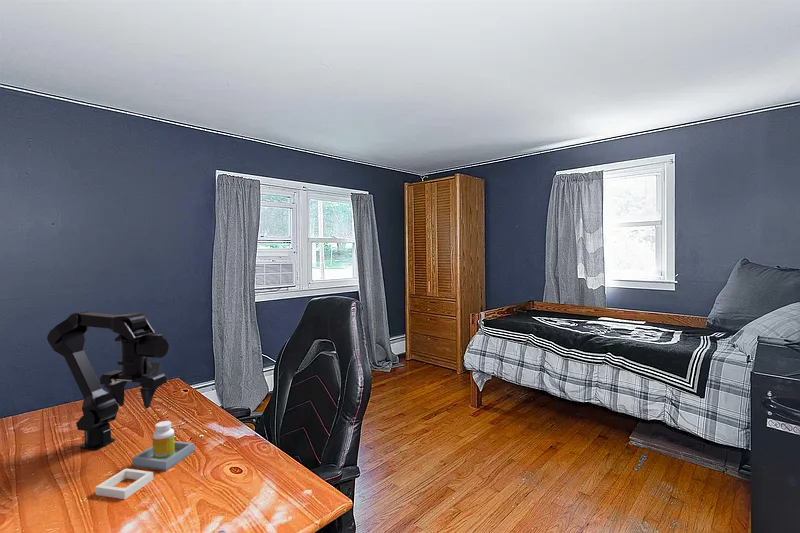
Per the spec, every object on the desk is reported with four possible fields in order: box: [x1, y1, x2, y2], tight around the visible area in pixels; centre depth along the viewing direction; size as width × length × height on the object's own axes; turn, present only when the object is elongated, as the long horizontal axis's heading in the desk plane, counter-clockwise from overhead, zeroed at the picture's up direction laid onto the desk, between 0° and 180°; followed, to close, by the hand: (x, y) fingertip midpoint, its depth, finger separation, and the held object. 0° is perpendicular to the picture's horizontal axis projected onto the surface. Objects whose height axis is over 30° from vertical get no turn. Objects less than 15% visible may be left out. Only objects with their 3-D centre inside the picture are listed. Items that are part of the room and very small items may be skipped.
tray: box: [131, 440, 196, 472], centre depth 117 cm, size 11×11×2 cm
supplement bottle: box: [152, 420, 176, 460], centre depth 117 cm, size 5×5×10 cm
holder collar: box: [95, 468, 154, 500], centre depth 104 cm, size 9×9×2 cm
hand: (134, 406), depth 123 cm, fingers open, 9 cm apart
